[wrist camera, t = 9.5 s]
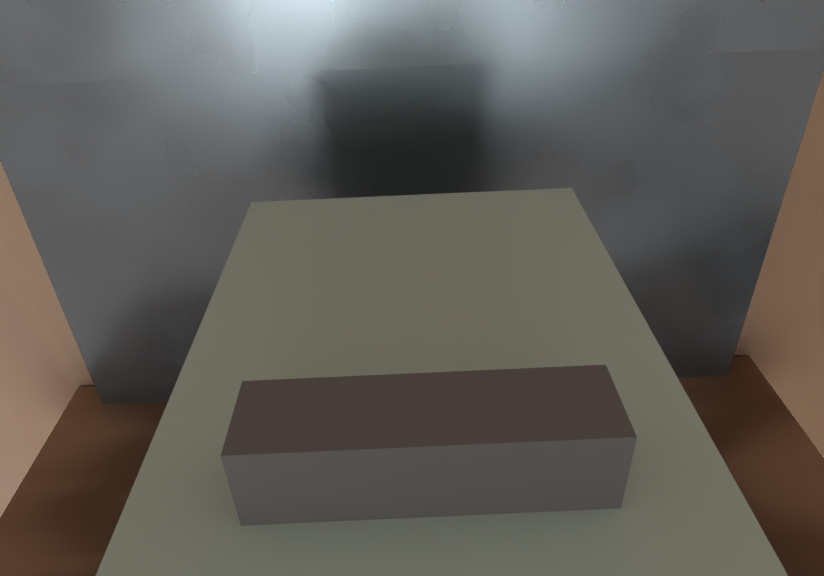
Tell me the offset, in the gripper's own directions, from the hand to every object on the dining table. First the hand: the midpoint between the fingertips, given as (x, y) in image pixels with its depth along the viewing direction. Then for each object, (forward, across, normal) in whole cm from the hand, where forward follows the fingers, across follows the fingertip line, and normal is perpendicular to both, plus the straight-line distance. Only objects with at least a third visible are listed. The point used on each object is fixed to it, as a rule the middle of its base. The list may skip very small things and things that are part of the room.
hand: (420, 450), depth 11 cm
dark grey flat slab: (+7, 0, -1) cm, 7 cm away
